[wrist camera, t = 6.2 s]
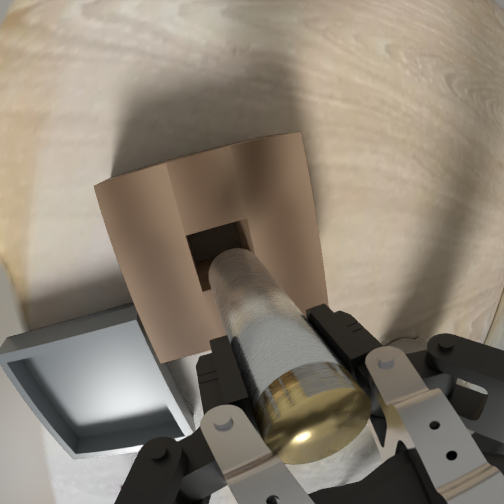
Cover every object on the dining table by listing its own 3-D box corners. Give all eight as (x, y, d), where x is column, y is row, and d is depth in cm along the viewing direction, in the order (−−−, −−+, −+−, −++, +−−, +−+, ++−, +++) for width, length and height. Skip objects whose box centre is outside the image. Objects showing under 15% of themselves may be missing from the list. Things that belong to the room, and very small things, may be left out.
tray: (139, 300, 28) (136, 319, 24) (193, 417, 33) (197, 439, 30) (7, 337, 25) (-6, 355, 22) (77, 439, 31) (73, 459, 28)
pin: (256, 241, 19) (373, 370, 7) (267, 290, 20) (369, 437, 9) (202, 257, 18) (253, 416, 7) (216, 306, 19) (275, 475, 8)
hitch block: (273, 134, 26) (300, 131, 21) (301, 282, 31) (329, 310, 26) (110, 178, 24) (93, 185, 18) (160, 325, 29) (160, 363, 23)
